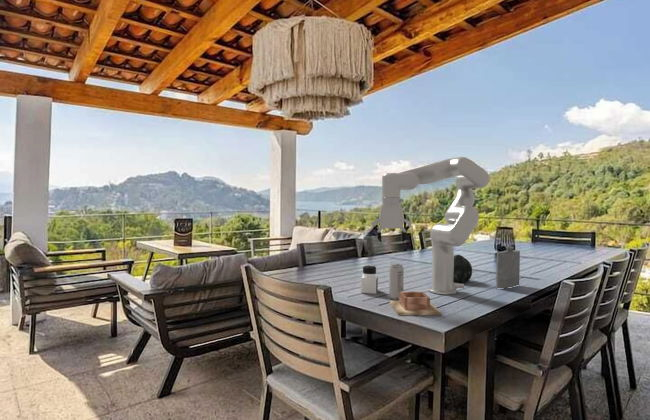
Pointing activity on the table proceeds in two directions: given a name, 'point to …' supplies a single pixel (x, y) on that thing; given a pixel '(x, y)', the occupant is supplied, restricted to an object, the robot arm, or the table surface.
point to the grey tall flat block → (508, 268)
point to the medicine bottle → (369, 280)
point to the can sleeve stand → (414, 304)
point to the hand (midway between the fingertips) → (391, 241)
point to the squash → (461, 269)
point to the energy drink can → (395, 280)
